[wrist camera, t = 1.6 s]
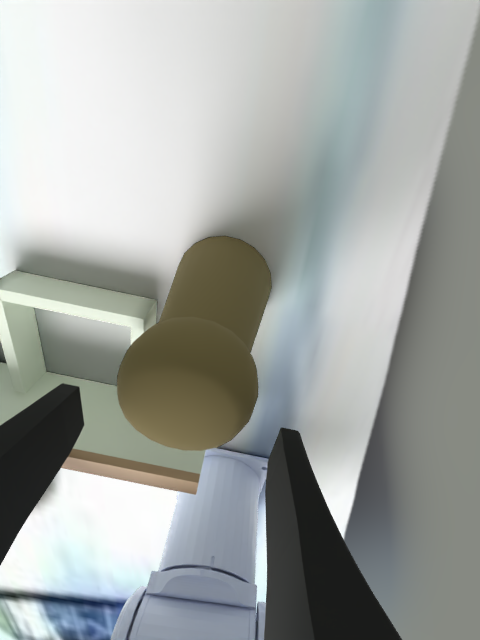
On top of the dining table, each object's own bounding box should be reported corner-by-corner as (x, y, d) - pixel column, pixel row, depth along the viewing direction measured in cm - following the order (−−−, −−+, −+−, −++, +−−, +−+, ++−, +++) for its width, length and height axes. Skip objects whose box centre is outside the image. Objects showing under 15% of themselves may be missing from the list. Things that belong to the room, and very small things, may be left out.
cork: (213, 213, 17) (141, 308, 8) (292, 278, 19) (309, 420, 10) (159, 287, 20) (60, 421, 11) (232, 338, 22) (200, 494, 12)
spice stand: (213, 416, 26) (196, 494, 20) (-23, 368, 26) (-106, 434, 20) (233, 315, 21) (218, 383, 15) (-63, 254, 20) (-191, 299, 15)
